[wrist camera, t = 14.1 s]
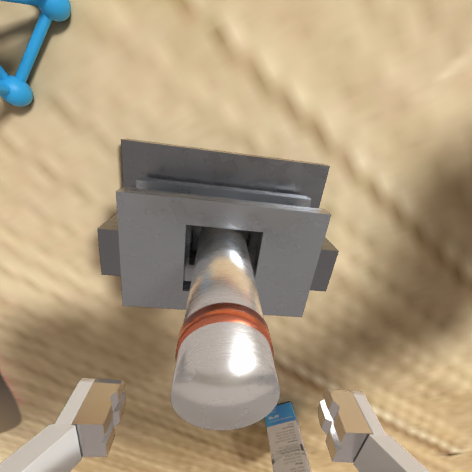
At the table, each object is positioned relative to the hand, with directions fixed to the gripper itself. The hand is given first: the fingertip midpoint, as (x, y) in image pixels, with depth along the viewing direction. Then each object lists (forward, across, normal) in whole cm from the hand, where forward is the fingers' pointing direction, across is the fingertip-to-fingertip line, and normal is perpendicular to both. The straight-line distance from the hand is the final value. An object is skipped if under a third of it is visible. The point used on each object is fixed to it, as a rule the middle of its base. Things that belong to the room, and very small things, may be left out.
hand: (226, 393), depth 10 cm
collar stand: (+20, 0, 0) cm, 20 cm away
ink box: (+20, -14, +34) cm, 42 cm away
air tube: (+18, 0, 0) cm, 18 cm away
